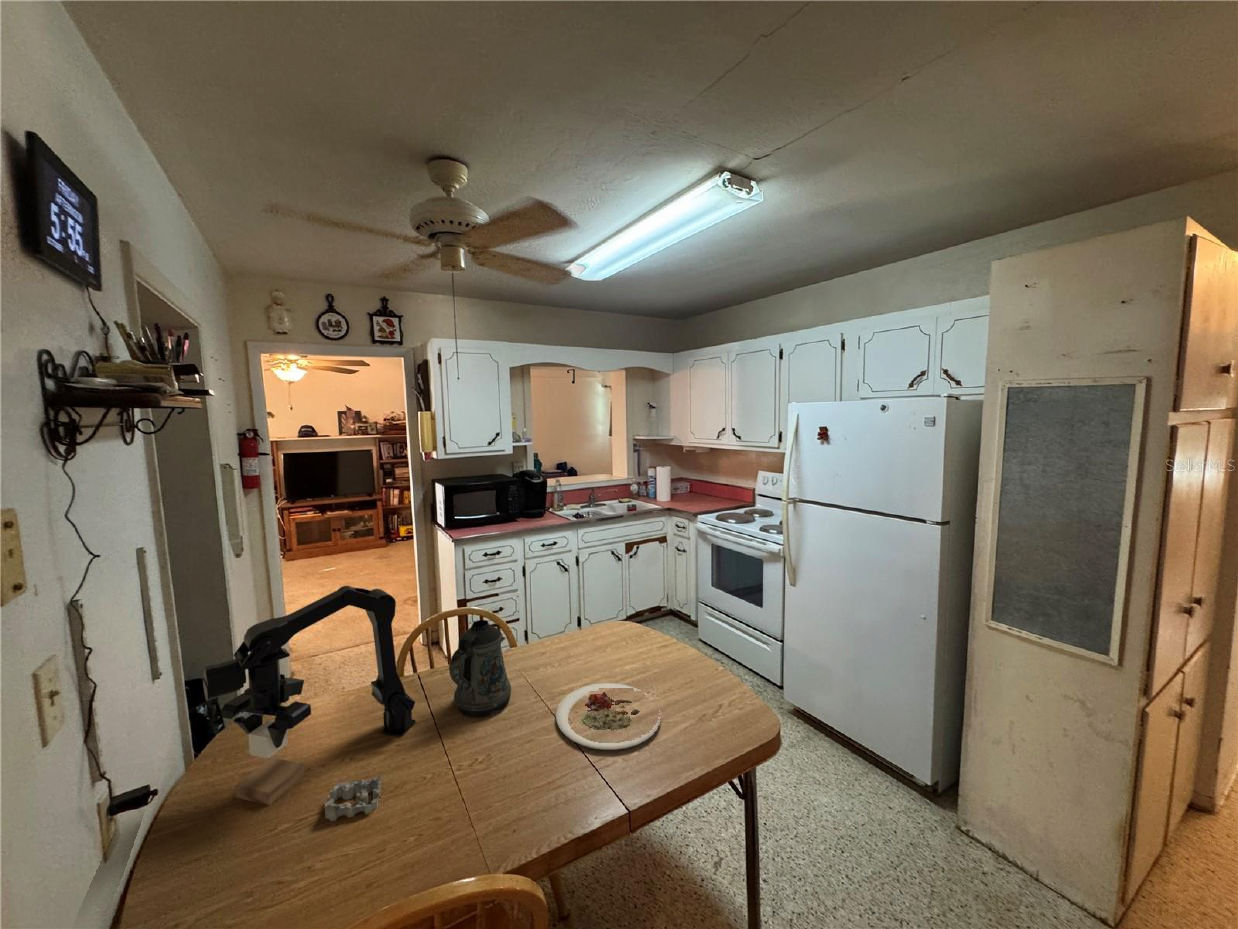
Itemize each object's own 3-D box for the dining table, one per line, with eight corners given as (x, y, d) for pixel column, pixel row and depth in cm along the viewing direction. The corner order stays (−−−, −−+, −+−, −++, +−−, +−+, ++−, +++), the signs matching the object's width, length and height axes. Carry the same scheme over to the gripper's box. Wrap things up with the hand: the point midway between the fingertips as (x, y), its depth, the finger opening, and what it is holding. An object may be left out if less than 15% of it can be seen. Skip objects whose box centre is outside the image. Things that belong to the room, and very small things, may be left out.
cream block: (287, 743, 113) (286, 723, 113) (268, 758, 108) (267, 737, 108) (269, 740, 114) (268, 720, 114) (249, 754, 109) (248, 734, 109)
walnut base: (303, 775, 116) (303, 763, 115) (269, 805, 107) (268, 792, 107) (272, 769, 117) (271, 757, 117) (236, 797, 109) (235, 785, 108)
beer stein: (515, 686, 155) (515, 611, 152) (503, 726, 135) (502, 640, 133) (463, 686, 154) (462, 610, 151) (443, 725, 135) (441, 639, 132)
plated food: (618, 772, 119) (618, 760, 119) (533, 723, 137) (533, 712, 137) (680, 714, 143) (680, 703, 143) (601, 678, 161) (601, 668, 161)
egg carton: (321, 825, 103) (320, 807, 102) (332, 797, 110) (331, 780, 109) (376, 815, 105) (375, 797, 105) (383, 788, 113) (383, 772, 112)
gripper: (328, 667, 115) (331, 728, 117) (263, 657, 119) (266, 717, 121) (287, 694, 104) (291, 761, 106) (217, 682, 108) (222, 747, 110)
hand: (268, 745), depth 111 cm, fingers closed on cream block, 5 cm apart
